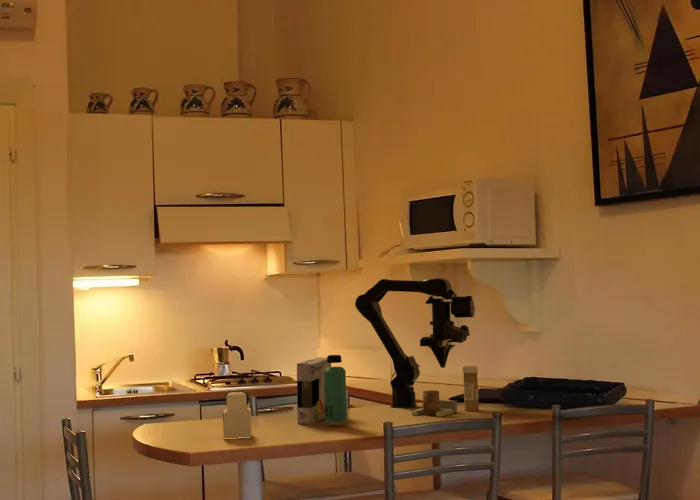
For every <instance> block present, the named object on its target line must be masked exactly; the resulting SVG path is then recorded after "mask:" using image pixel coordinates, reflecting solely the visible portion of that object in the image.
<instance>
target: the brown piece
mask: <svg viewBox="0 0 700 500" xmlns="http://www.w3.org/2000/svg"><path fill="white" fill-rule="evenodd" d="M439 400H440V391H439V390H433V389H431V390H423V391H422V408H423V409H424V413H423V416H424V415H425V416H424V417H437V416H436V412H439V411H440V405H439Z"/></svg>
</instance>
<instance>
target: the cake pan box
mask: <svg viewBox="0 0 700 500" xmlns="http://www.w3.org/2000/svg"><path fill="white" fill-rule="evenodd" d="M327 367H332V363H327V357H321V356H320V357H319V356H318V357H316V358H312V359H307V360H304V361H302V362H297V364H296V389H297V390H296V409H297V411H296V412H297V413H296V416H297V417H296V418H297V421H296V422H297V425H312V424H314V423H317V422H319V421H320V420H323V419H325V407H324V405H325V402H324V401H325V394H324V370H325V369H326V368H327Z"/></svg>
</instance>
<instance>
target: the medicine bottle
mask: <svg viewBox="0 0 700 500" xmlns="http://www.w3.org/2000/svg"><path fill="white" fill-rule="evenodd" d="M224 397H225V399H224V400H225V409H224V410H223V414H222V417H223V439H224V438H238V437H251V438H252V408H250V407H249V393H248V392H246V391H243V390H242V391H241V390H239V391H229V392H227V393H226V394H225V395H224Z"/></svg>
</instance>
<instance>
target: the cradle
mask: <svg viewBox="0 0 700 500" xmlns="http://www.w3.org/2000/svg"><path fill="white" fill-rule="evenodd" d="M452 414H455V413H454V412H453V409H443V408H440V411H439V412H436V416H435V417H444V416H448V415H452ZM419 415H424V409H423V407H421V408H417V409H414V410H411V416H419Z"/></svg>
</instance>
